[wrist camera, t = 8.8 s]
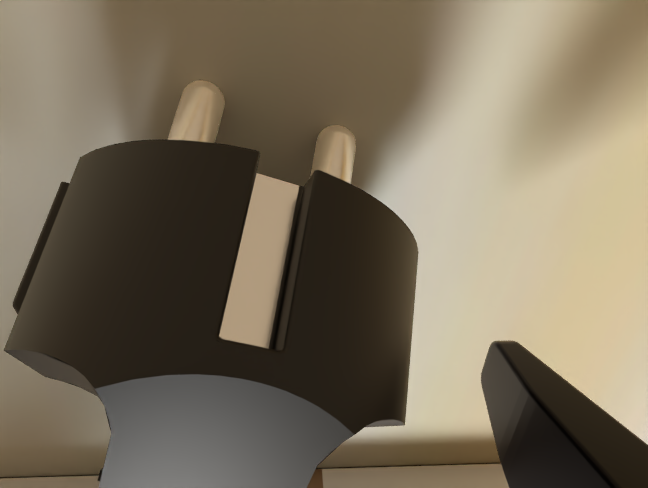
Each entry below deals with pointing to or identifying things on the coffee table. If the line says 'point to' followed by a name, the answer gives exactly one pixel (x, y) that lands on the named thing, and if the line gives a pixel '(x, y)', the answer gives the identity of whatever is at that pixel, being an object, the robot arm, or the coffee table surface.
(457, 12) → the coffee table surface
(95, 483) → the board
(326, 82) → the coffee table surface
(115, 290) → the power plug
